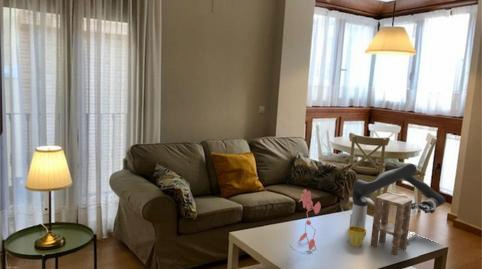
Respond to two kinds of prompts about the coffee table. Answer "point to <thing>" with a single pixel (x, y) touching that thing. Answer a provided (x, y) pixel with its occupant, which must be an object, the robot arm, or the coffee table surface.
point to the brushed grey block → (411, 236)
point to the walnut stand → (393, 229)
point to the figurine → (307, 203)
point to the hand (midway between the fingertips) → (418, 209)
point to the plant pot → (356, 235)
